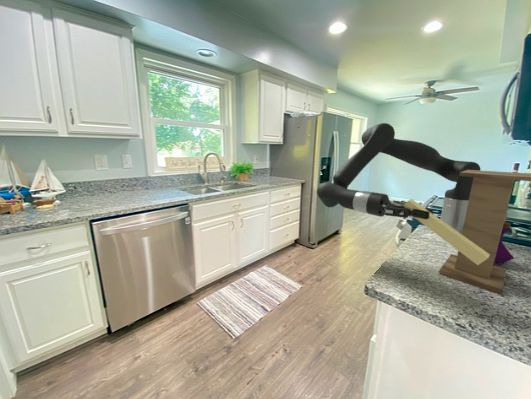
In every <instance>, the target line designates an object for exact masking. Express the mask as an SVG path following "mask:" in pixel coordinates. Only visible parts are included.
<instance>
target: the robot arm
mask: <svg viewBox="0 0 531 399" xmlns="http://www.w3.org/2000/svg"><path fill="white" fill-rule="evenodd" d="M395 132H396V131H395V129H394V127H393V126H392V125H391V124H390V123H386V122H382V123H378V124H376V125H374V126H372V127H369V128H367V129H366V130H365V131H364V132H363V133H362V135H361V143H362V144H363V146H362V147H361V148H360V149H359V150H358V151H357V152H355V154H353V155H352V156H350V158H349V159H347V160H346V161H344V163H343V164H342V166H340V168H339V169H338V170H337V171H336V172H335V173H334V175H333V176H332V181H333V183H332V182H324V183H322V184H319V186H318V187H317V190H316V194H317V196H318V198H319V199H320V201H321V203H322V204H323V205H324V206H325V207H327V208H334V207H335V206H338V205H340V206H341V207H342V208H345V209H347V210H352V211H356V212H359V213H363V214H367V215H372V216H375V217H376V216H377V217H384V216H388V217H397V218H404V219H408V218H414V217H417V218H422V219H428V218H429V215H430V212H431V213H432V214H434V209H432V208H428V207H427V208H425V207H424V208H425V209H426V210H428V211H423V210H418V209H413V208H409V207H406V206H405V204H406V203H407V201H405V200H397V199H395V200H392V201H390V199H389V198H390V197H389V195H388V194H386V193H379V192H375V191H367V190H366V191H365V190H355V189H351V188H350V189H349V186H350V185H351V184H352V183H353V181H354V180H355V179H356V178H357V177H358V175H359V174H360V173H361V172H362V171H363V170H364V168H365V167H366V166H367V165H368V164H370V162H371V161H372V160H373V159H374V158H375V157H376V156H377V155H379V153H382V154H385V155H387V156H391V157H392V158H395V159H397V160H400V161H402V162H405V163H407V164H409V165H412V166H414V167H416V168H420V169H422V170H426V171H429V172H433V173H435V174H436V175H438V176H440V177H442V178H444V179H446V180H448V181H449V182H454V183H455V186H454V188H452V189H448V190H446V191H445V192H444V199H443V203H442V209H441V215H440V219H441V220H442V221H443V222H445V223H446V224H448V225H449V226H450V227H452V228H453V229H455V230H456V231H458V232H459V233H460V234H462V230H463V226H464V221H465V216H466V211H467V206H468V202H469V197H470V192H471V187H472V182H473V178H474V177H466V176H459V174H460V172H463V171H465V170H479V171H482V170H481V166H480V165H479V164H478V163H477V162H476V161H475V162H474V161H464V160H454V159H450V158H447V157H444V156H442V155H441V154H440V153H439V151H438V150H437V149H436V148H434V147H433V146H430V145H428V144H425V143H423V142H419V141H414V140H409V139H398V138H395V136H396V134H395Z"/></svg>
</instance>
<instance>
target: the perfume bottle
mask: <svg viewBox="0 0 531 399" xmlns="http://www.w3.org/2000/svg"><path fill="white" fill-rule="evenodd" d="M508 217H509V213H508V211H507V212H506V216H505V220H504V224H503V228H502V232H501V236H500V240H499V244H498V248H497V252H496V256H495V260H494V264H495V265H503V264H505V263H509V262H510V261H512V260H514V259H515V257H514V256H513V255H512V254H511V252H510V251H509V250H508V249H507V247H506V246H505V245H504V243H503V236H505V234H506V233H507V232H510V231H512V228H511V227H510V226H511V224H512V223H511V222H508V221H506V219H507V218H508Z"/></svg>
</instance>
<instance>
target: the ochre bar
mask: <svg viewBox="0 0 531 399" xmlns="http://www.w3.org/2000/svg"><path fill="white" fill-rule="evenodd" d="M406 202H407V203H406V204H405V206H406V207H409V208H413V209H418V210H423V211H428V210H426V209H425V207H424V206H422V205H421V204H420V203H418V202H417V201H415V200H414V199H413V198H411V199H409V200H407V201H406ZM413 218H414V219H416V220H417V221H418V222H419V223H421V224H422V225H423V226H425V227H426V228H428V229H429V230H430V231H431V232H432V233H434V234H436V235H437V236H438V237H439V238H441V239H442V240H443V241H445V242H446V243H448V244H449V245H450V246H451V247H453V248H455V250H457V252H458V251H459V252H461V253H462V254H463V255H465V256H466V257H467V258H469V259H470V260H471V261H473V262H474V263H475V264H477V265H479V264H480V263H482V262H483V261H485V260H486V259H488V258H489V255H490V254H488V253H487V252H486V251H484V250H483V249H481V248H480V247H479V246H477V245H476V244H474V243H473V242H472V241H470V240H469V239H467V238H466V237H465V236H463V235H462V234H460V233H459V232H458V231H456V230H455V229H453V228H452V227H450V226H449V225H448V224H446V223H445V222H443V221H442V220H441V218H439V217H438V216H436V215H435V214H434V213H433V214H432V213H431V212H430V215H429V218H428V219H422V218H417V217H413Z"/></svg>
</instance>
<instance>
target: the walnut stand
mask: <svg viewBox="0 0 531 399" xmlns="http://www.w3.org/2000/svg"><path fill="white" fill-rule="evenodd" d="M459 176H466V177H474V178H473V182H472V187H471V192H470V197H469V202H468V206H467V211H466V216H465V221H464V226H463V230H462V235H463V236H465V237H466V238H467V239H469V240H470V241H472V242H473V243H474V244H476V245H477V246H479V247H480V248H481V249H483V250H484V251H486V252H487V253H488V254H490V255H489V258H488V259H486V260H485V261H483V262H482V263H480V264H479V265H477V264H475V263H474V262H473V261H471V260H470V259H469V258H467V257H466V256H465V255H463V254H462V253H461V252H459V251H458V250H457V255H455V254H454V253H453V254H451V253H450V254H449V256H448V258H447V259H446V260H445V261H444V263H443V264H442V265H441V267H440V268H439V273H438V274H439V275H442V276H444V277H448V278H450V279H454V280H458V281H460V282H463V283H466V284H468V285H472V286H475V287H477V288H481V289H484V290H487V291H490V292H493V293H495V294H498V295H502V294H503V290H504V285H505V280H506V274H507V268H503V267H499V266H496V265H494V260H495V256H496V252H497V248H498V244H499V240H500V236H501V232H502V228H503V224H504V220H505V216H506V212H507V213H508V207H509V204H510V200H511V195H512V192H513V188H514V183H515V181H522V182H523V181H524V182H531V173H529V172H513V171H512V172H510V171H496V170H495V171H494V170H492V171H491V170H481V171H479V170H465V171H463V172H460V174H459ZM505 221H506V220H505Z"/></svg>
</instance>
